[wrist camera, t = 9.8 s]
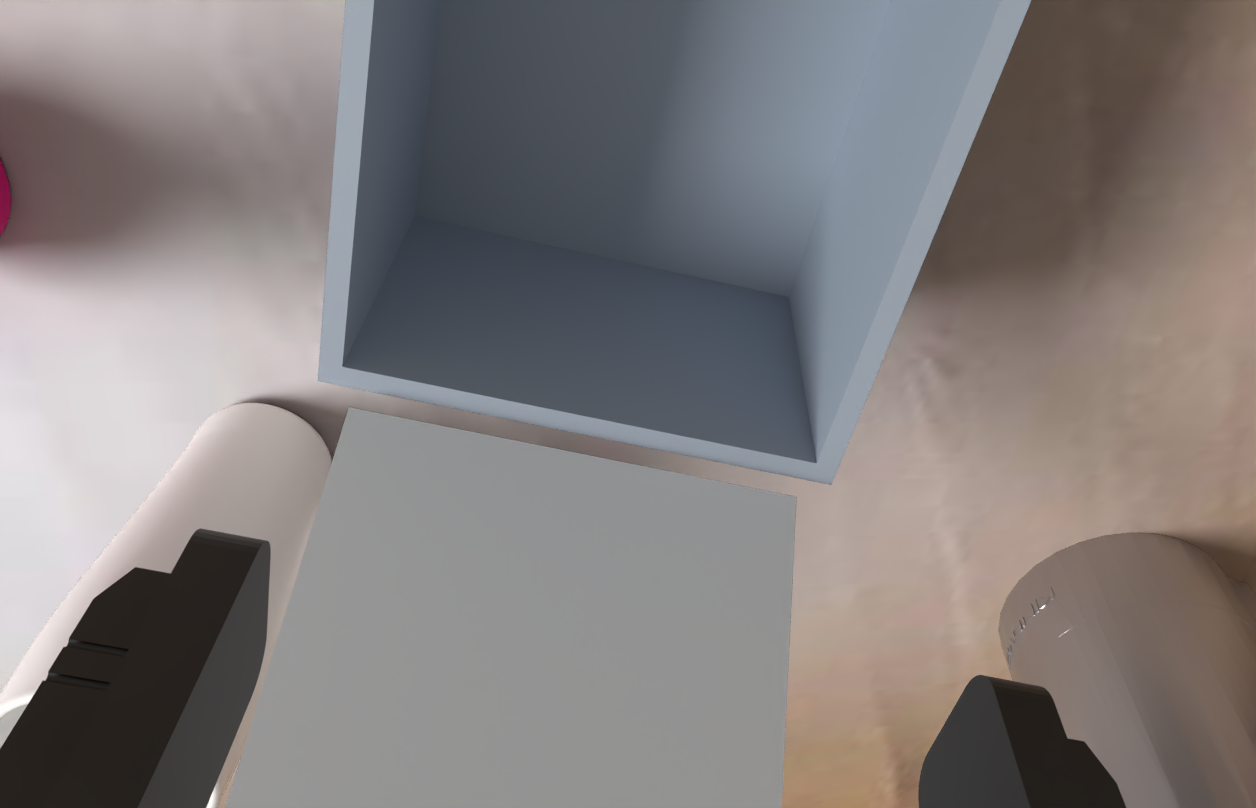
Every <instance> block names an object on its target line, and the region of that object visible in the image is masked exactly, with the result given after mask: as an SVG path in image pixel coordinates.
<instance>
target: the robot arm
mask: <svg viewBox="0 0 1256 808" xmlns="http://www.w3.org/2000/svg"><path fill="white" fill-rule="evenodd" d="M270 558H271V549H270V543H269V541H266V540H261V539H255V538H250V537H245V536H239V535H234V534H228V533H223V532H218V531H212V530H207V529H201V528H200V529H198V530H196V531H195V532H194V534H193V535H192V536H191V538H190V540H189V541H188V543H187V545H186V547H185V549H184V550H183V552H182V554H181V556H180V558H179V559H178V561H177V563H176V565H175V567H174V568H173V570H172V572H171V573H166V572H160V571H155V570H149V569H144V568H138V567H135V568H134V569H132V570H131V571H130V572H128V573H127V574H126V575H124V576H123V577H122V578H120V579H119V580H118V581H116V582H115V583H114V584H112V585H111V586H109V587H108V588H107V589H105V590H104V591H103V592H101V593H100V594H99V595H97V596H96V597H95V598H94V599H93V600H92V602H91V603H90V605H89V607H88V608H87V610H86V611H85V613H84V615H83V616H82V618H81V620H80V621H79V623H78V624H77V626H76V628H75V629H74V631H73V632H72V634H71V636H70V637H69V641H68V644H67V646H66V647H63V649H62V650H61V652H60V653H59V655H58V657H57V658H56V660H55V661H54V663H53V665H52V666H51V668H50V669H49V671H48V676H47V679H46V680H45V681H44V680H43V681H42V682H41V684H40V686H39V687H38V689H37V690H36V692H35V694H34V695H33V697H32V698H31V700H30V702H29V703H28V705H27V707H26V708H25V710H24V711H23V713H22V715H21V716H20V718H19V719H18V721H17V723H16V724H15V726H14V727H13V729H12V731H11V732H10V734H9V735H8V737H7V739H6V740H5V742H4V744H3V745H2V747H1V748H0V808H206V807H207V805H208V802H209V800H210V797H211V795H212V792H213V790H214V788H215V785H216V783H217V780H218V778H219V775H220V773H221V770H222V768H223V766H224V763H225V761H226V758H227V756H228V753H229V751H230V748H231V746H232V744H233V741H234V739H235V736H236V734H237V731H238V729H239V727H240V724H241V722H242V719H243V717H244V714H245V712H246V709H247V707H248V705H249V702H250V700H251V697H252V695H253V692H254V689H255V686H256V683H257V680H258V677H259V673H260V670H261V666H262V662H263V657H264V652H265V646H266V639H267V621H268V600H269V579H270ZM998 630H999V636H1000V641H1001V646H1002V649H1003V652H1004V655H1005V658H1006V662H1007V665H1008V668H1009V670H1010V674H1011V677H1012V680H1013V681H1010V680H1004V679H999V678H993V677H988V676H983V675H978V676H975V677H974V678H973V679H972V680H971V681H970V682H969V683H968V685H967V686H966V688H965V690H964V691H963V693H962V695H961V696H960V698H959V700H958V702H957V703H956V705H955V707H954V709H953V710H952V712H951V714H950V715H949V717H948V719H947V721H946V722H945V724H944V726H943V728H942V729H941V731H940V733H939V734H938V736H937V738H936V740H935V741H934V743H933V745H932V747H931V748H930V750H929V752H928V754H927V756H926V758H925V760H924V763H923V766H922V770H921V775H920V781H919V808H1256V594H1255V593H1254V591H1253V590H1252V588H1251V586H1250V585H1249V584H1248V583H1244V582H1239V581H1235V580H1232V579H1230V578H1227V576H1226V575H1225V574H1224V573H1223V572H1222V571H1221V569H1220V568H1219V567H1218V565H1217V564H1216V563H1215V561H1214V560H1213V559H1212V558H1211V557H1210V556H1208V555H1207V554H1206V553H1204V552H1203V551H1202V550H1200V549H1199V548H1198V547H1196V546H1194V545H1191V544H1189V543H1187V542H1184V541H1182V540H1180V539H1177V538H1173V537H1168V536H1164V535H1159V534H1152V533H1122V534H1114V535H1105V536H1101V537H1097V538H1093V539H1090V540H1086V541H1082V542H1079V543H1077V544H1074V545H1072V546H1070V547H1067V548H1065V549H1063V550H1060V551H1058V552H1056V553H1054V554H1053V555H1051V556H1050V557H1048V558H1046V559H1045V560H1043V561H1042V562H1040V563H1039V564H1037V565H1036V566H1034V567H1033V568H1032V569H1031V570H1030V571H1029V572H1028V573H1027V574H1026V575H1025V576H1023V577H1022V578H1021V579H1020V580H1019V581H1018V583H1017V584H1016V585H1015V587H1014V588H1013V590H1012V591H1011V592H1010V594H1009V595H1008V596H1007V599H1006V601H1005V603H1004V606H1003V608H1002V611H1001V613H1000V621H999V629H998Z"/></svg>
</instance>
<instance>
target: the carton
mask: <svg viewBox="0 0 1256 808" xmlns="http://www.w3.org/2000/svg"><path fill="white" fill-rule="evenodd" d="M1030 3H1031V0H345V14H344V27H343V41H342V55H341V68H340V82H339V96H338V110H337V123H336V137H335V151H334V164H333V178H332V192H331V206H330V219H329V233H328V247H327V260H326V274H325V288H324V302H323V315H322V329H321V343H320V356H319V370H318V381H320V382H325V383H330V384H335V385H339V386H344V387H349V388H354V389H359V390H364V391H369V392H374V393H379V394H384V395H389V396H394V397H399V398H404V399H409V400H414V401H419V402H424V403H429V404H433V405H438V406H443V407H448V408H453V409H458V410H463V411H468V412H473V413H478V414H483V415H488V416H493V417H498V418H503V419H508V420H513V421H518V422H523V423H528V424H532V425H537V426H542V427H547V428H552V429H557V430H562V431H567V432H572V433H577V434H582V435H587V436H592V437H597V438H602V439H607V440H612V441H617V442H622V443H626V444H631V445H636V446H641V447H646V448H651V449H656V450H661V451H666V452H671V453H676V454H681V455H686V456H691V457H696V458H701V459H706V460H711V461H716V462H721V463H725V464H730V465H735V466H740V467H745V468H750V469H755V470H760V471H765V472H770V473H775V474H780V475H785V476H790V477H795V478H800V479H805V480H810V481H815V482H819V483H824V484H829V485H831V484H832V482H833V479H834V477H835V474H836V472H837V469H838V467H839V465H840V462H841V460H842V457H843V455H844V452H845V450H846V448H847V445H848V443H849V440H850V438H851V436H852V433H853V431H854V428H855V426H856V423H857V421H858V419H859V416H860V414H861V411H862V409H863V407H864V404H865V402H866V399H867V397H868V394H869V392H870V390H871V387H872V385H873V382H874V380H875V378H876V375H877V373H878V370H879V368H880V365H881V363H882V361H883V358H884V356H885V353H886V351H887V348H888V346H889V344H890V341H891V339H892V336H893V334H894V332H895V329H896V327H897V324H898V322H899V319H900V317H901V315H902V312H903V310H904V307H905V305H906V303H907V300H908V298H909V295H910V293H911V290H912V288H913V286H914V283H915V281H916V278H917V276H918V273H919V271H920V269H921V266H922V264H923V261H924V259H925V257H926V254H927V252H928V249H929V247H930V244H931V242H932V240H933V237H934V235H935V232H936V230H937V228H938V225H939V223H940V220H941V218H942V215H943V213H944V211H945V208H946V206H947V203H948V201H949V199H950V196H951V194H952V191H953V189H954V186H955V184H956V182H957V179H958V177H959V174H960V172H961V169H962V167H963V165H964V162H965V160H966V157H967V155H968V153H969V150H970V148H971V145H972V143H973V140H974V138H975V136H976V133H977V131H978V128H979V126H980V124H981V121H982V119H983V116H984V114H985V111H986V109H987V107H988V104H989V102H990V99H991V97H992V94H993V92H994V90H995V87H996V85H997V82H998V80H999V78H1000V75H1001V73H1002V70H1003V68H1004V65H1005V63H1006V61H1007V58H1008V56H1009V53H1010V51H1011V49H1012V46H1013V44H1014V41H1015V39H1016V36H1017V34H1018V32H1019V29H1020V27H1021V24H1022V22H1023V19H1024V17H1025V15H1026V12H1027V10H1028V7H1029V5H1030Z"/></svg>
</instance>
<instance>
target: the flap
mask: <svg viewBox="0 0 1256 808" xmlns="http://www.w3.org/2000/svg"><path fill="white" fill-rule="evenodd" d="M796 502H797V497H795V496H790V495H785V494H780V493H775V492H770V491H765V490H760V489H755V488H750V487H745V486H740V485H735V484H730V483H725V482H720V481H715V480H710V479H705V478H700V477H695V476H690V475H685V474H680V473H675V472H670V471H665V470H660V469H655V468H650V467H645V466H640V465H635V464H630V463H625V462H620V461H615V460H610V459H605V458H600V457H595V456H590V455H585V454H580V453H575V452H570V451H565V450H560V449H555V448H550V447H545V446H540V445H535V444H530V443H525V442H520V441H515V440H510V439H505V438H500V437H495V436H491V435H486V434H481V433H476V432H471V431H466V430H461V429H456V428H451V427H446V426H441V425H436V424H431V423H426V422H421V421H416V420H411V419H406V418H401V417H396V416H391V415H386V414H381V413H376V412H371V411H366V410H361V409H356V408H351V407H349V408H348V412H347V415H346V418H345V421H344V425H343V428H342V431H341V434H340V438H339V441H338V444H337V447H336V451H335V454H334V457H333V460H332V463H331V467H330V470H329V473H328V476H327V480H326V483H325V486H324V489H323V493H322V496H321V499H320V502H319V506H318V509H317V512H316V515H315V519H314V522H313V525H312V528H311V532H310V535H309V538H308V541H307V544H306V548H305V551H304V554H303V557H302V561H301V564H300V567H299V570H298V574H297V577H296V580H295V583H294V587H293V590H292V593H291V596H290V600H289V603H288V606H287V609H286V612H285V616H284V619H283V622H282V625H281V629H280V632H279V635H278V638H277V642H276V645H275V648H274V651H273V655H272V658H271V661H270V664H269V668H268V671H267V674H266V677H265V680H264V684H263V687H262V690H261V693H260V697H259V700H258V703H257V706H256V710H255V713H254V716H253V719H252V723H251V726H250V729H249V732H248V736H247V739H246V742H245V745H244V749H243V752H242V755H241V758H240V761H239V765H238V768H237V771H236V774H235V778H234V781H233V784H232V787H231V791H230V794H229V797H228V800H227V804H226V807H225V808H782V790H783V770H784V749H785V728H786V708H787V687H788V667H789V646H790V626H791V605H792V584H793V564H794V543H795V523H796Z"/></svg>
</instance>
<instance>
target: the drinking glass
mask: <svg viewBox="0 0 1256 808" xmlns="http://www.w3.org/2000/svg"><path fill="white" fill-rule="evenodd" d="M331 463H332V460H331V456H330V453H329V450H328V448H327V446H326V444H325V442H324V441H323V439H322V438H321V436H320V435H319V434H318V433H317V431H316V430H315V429H314V428H313V427H312V426H311V425H310V424H308V423H307V422H306V421H305V420H303V419H302V418H300V417H299V416H297V415H295V414H294V413H292V412H290V411H287V410H285V409H283V408H280V407H277V406H273V405H269V404H263V403H241V404H235V405H232V406H228V407H226V408H223V409H221V410H219V411H217V412H216V413H214V414H212V415H211V416H210V417H209V418H207V419H206V420H205V421H204V422H203V423H202V425H201V426H200V427H199V429H198V430H197V431H196V433H195V434H194V436H193V438H192V439H191V441H190V442H189V444H188V445H187V447H186V449H185V450H184V452H183V453H182V454H181V455H180V457H179V458H178V459H177V460H176V462H175V463H174V464H173V466H172V467H171V468H170V469H169V471H168V472H167V473H166V474H165V475H164V477H163V478H162V479H161V480H160V482H159V483H158V484H157V485H156V487H155V488H154V489H153V490H152V492H151V493H150V494H149V495H148V496H147V498H146V499H145V500H144V501H143V503H142V504H141V505H140V506H139V507H138V509H137V510H136V511H135V512H134V514H133V515H132V516H131V517H130V518H129V520H128V521H127V522H126V523H125V525H124V526H123V527H122V528H121V529H120V531H119V532H118V533H117V534H116V535H115V537H114V538H113V539H112V540H111V542H110V543H109V544H108V545H107V546H106V548H105V549H104V550H103V551H102V552H101V554H100V555H99V556H98V557H97V558H96V560H95V561H94V562H93V563H92V565H91V566H90V567H89V568H88V569H87V571H86V572H85V573H84V574H83V575H82V577H81V578H80V579H79V580H78V582H77V583H76V584H75V585H74V587H73V588H72V589H71V590H70V592H69V593H68V594H67V595H66V597H65V598H64V599H63V600H62V602H61V603H60V604H59V606H58V607H57V608H56V610H55V611H54V612H53V614H52V615H51V616H50V618H49V619H48V621H47V622H46V623H45V625H44V626H43V628H42V629H41V631H40V632H39V633H38V635H37V636H36V638H35V639H34V641H33V642H32V644H31V645H30V647H29V648H28V650H27V651H26V653H25V654H24V656H23V657H22V659H21V661H20V662H19V664H18V665H17V667H16V669H15V670H14V672H13V673H12V675H11V677H10V678H9V680H8V682H7V683H6V685H5V687H4V689H3V690H2V692H1V694H0V748H1V747H2V745H3V744H4V742H5V740H6V739H7V737H8V735H9V734H10V732H11V731H12V729H13V727H14V726H15V724H16V723H17V721H18V719H19V718H20V716H21V715H22V713H23V711H24V710H25V708H26V707H27V705H28V703H29V702H30V700H31V698H32V697H33V695H34V694H35V692H36V690H37V689H38V687H39V686H40V684H41V682H42V681H43V680H44V681H45V680H46V679H47V676H48V671H49V669H50V668H51V666H52V665H53V663H54V661H55V660H56V658H57V657H58V655H59V653H60V652H61V650H62V649H63V647H66V646H67V644H68V641H69V637H70V636H71V634H72V632H73V631H74V629H75V628H76V626H77V624H78V623H79V621H80V620H81V618H82V616H83V615H84V613H85V611H86V610H87V608H88V607H89V605H90V603H91V602H92V600H93V599H94V598H95V597H96V596H97V595H99V594H100V593H101V592H103V591H104V590H105V589H107V588H108V587H109V586H111V585H112V584H114V583H115V582H116V581H118V580H119V579H120V578H122V577H123V576H124V575H126V574H127V573H128V572H130V571H131V570H132V569H134V568H135V567H138V568H144V569H149V570H155V571H160V572H166V573H171V572H172V570H173V568H174V567H175V565H176V563H177V561H178V559H179V558H180V556H181V554H182V552H183V550H184V549H185V547H186V545H187V543H188V541H189V540H190V538H191V536H192V535H193V534H194V532H195V531H196V530H198V529H200V528H201V529H207V530H212V531H218V532H223V533H228V534H234V535H239V536H245V537H250V538H255V539H261V540H266V541H269V543H270V549H271V558H270V579H269V600H268V621H267V639H266V646H265V652H264V657H263V662H262V666H261V670H260V673H259V677H258V680H257V683H256V686H255V689H254V692H253V695H252V697H251V700H250V702H249V705H248V707H247V709H246V712H245V714H244V717H243V719H242V722H241V724H240V727H239V729H238V731H237V734H236V736H235V739H234V741H233V744H232V746H231V748H230V751H229V753H228V756H227V758H226V761H225V763H224V766H223V768H222V770H221V773H220V775H219V778H218V780H217V783H216V785H215V788H214V790H213V792H212V795H211V797H210V800H209V802H208V805H207V807H206V808H218V806H219V803H220V801H221V799H222V796H223V794H224V792H225V790H226V788H227V786H228V784H229V782H230V780H231V778H232V775H233V773H234V771H235V769H236V767H237V765H238V763H239V760H240V758H241V755H242V752H243V749H244V745H245V742H246V739H247V736H248V732H249V729H250V726H251V723H252V719H253V716H254V713H255V710H256V706H257V703H258V700H259V697H260V693H261V690H262V687H263V684H264V680H265V677H266V674H267V671H268V668H269V664H270V661H271V658H272V655H273V651H274V648H275V645H276V642H277V638H278V635H279V632H280V629H281V625H282V622H283V619H284V616H285V612H286V609H287V606H288V603H289V600H290V596H291V593H292V590H293V587H294V583H295V580H296V577H297V574H298V570H299V567H300V564H301V561H302V557H303V554H304V551H305V548H306V544H307V541H308V538H309V535H310V532H311V528H312V525H313V522H314V519H315V515H316V512H317V509H318V506H319V502H320V499H321V496H322V493H323V489H324V486H325V483H326V480H327V476H328V473H329V470H330V467H331Z"/></svg>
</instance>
